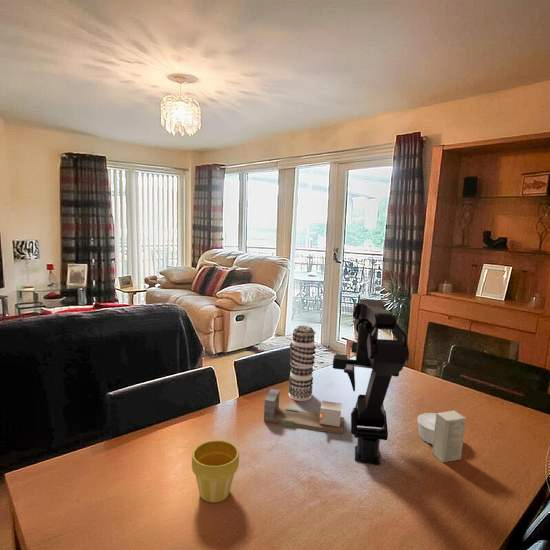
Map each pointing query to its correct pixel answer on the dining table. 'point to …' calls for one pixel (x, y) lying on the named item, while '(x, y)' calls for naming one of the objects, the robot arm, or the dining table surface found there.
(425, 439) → the ramekin
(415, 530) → the dining table surface
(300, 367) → the decorative candle
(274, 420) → the gauge board
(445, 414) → the skincare box
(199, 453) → the plant pot
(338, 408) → the block
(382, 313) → the robot arm
